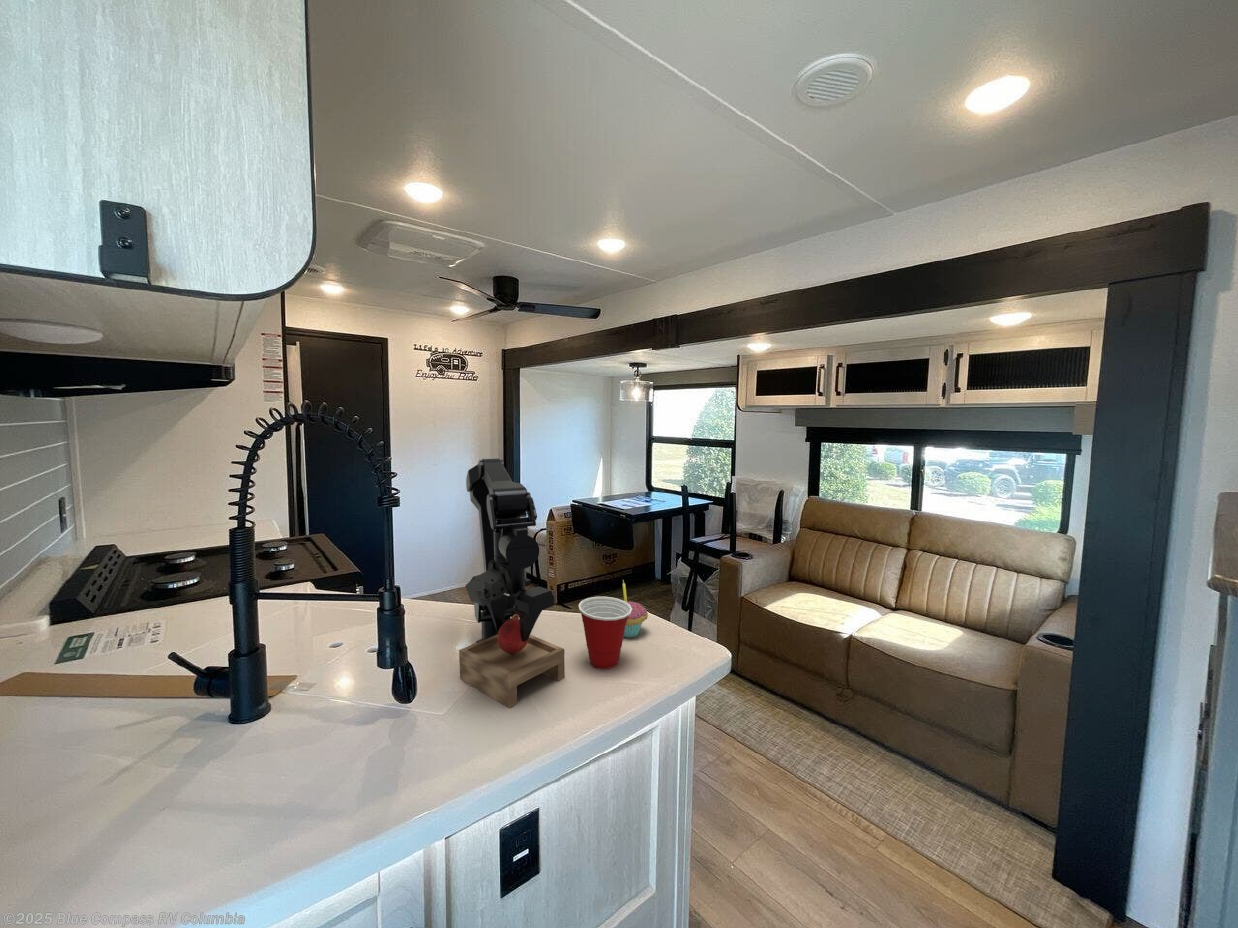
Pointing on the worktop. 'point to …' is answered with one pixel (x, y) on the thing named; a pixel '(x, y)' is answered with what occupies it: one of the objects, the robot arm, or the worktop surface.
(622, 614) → the plastic cup
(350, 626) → the worktop surface
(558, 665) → the shelf
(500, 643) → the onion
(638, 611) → the cupcake
